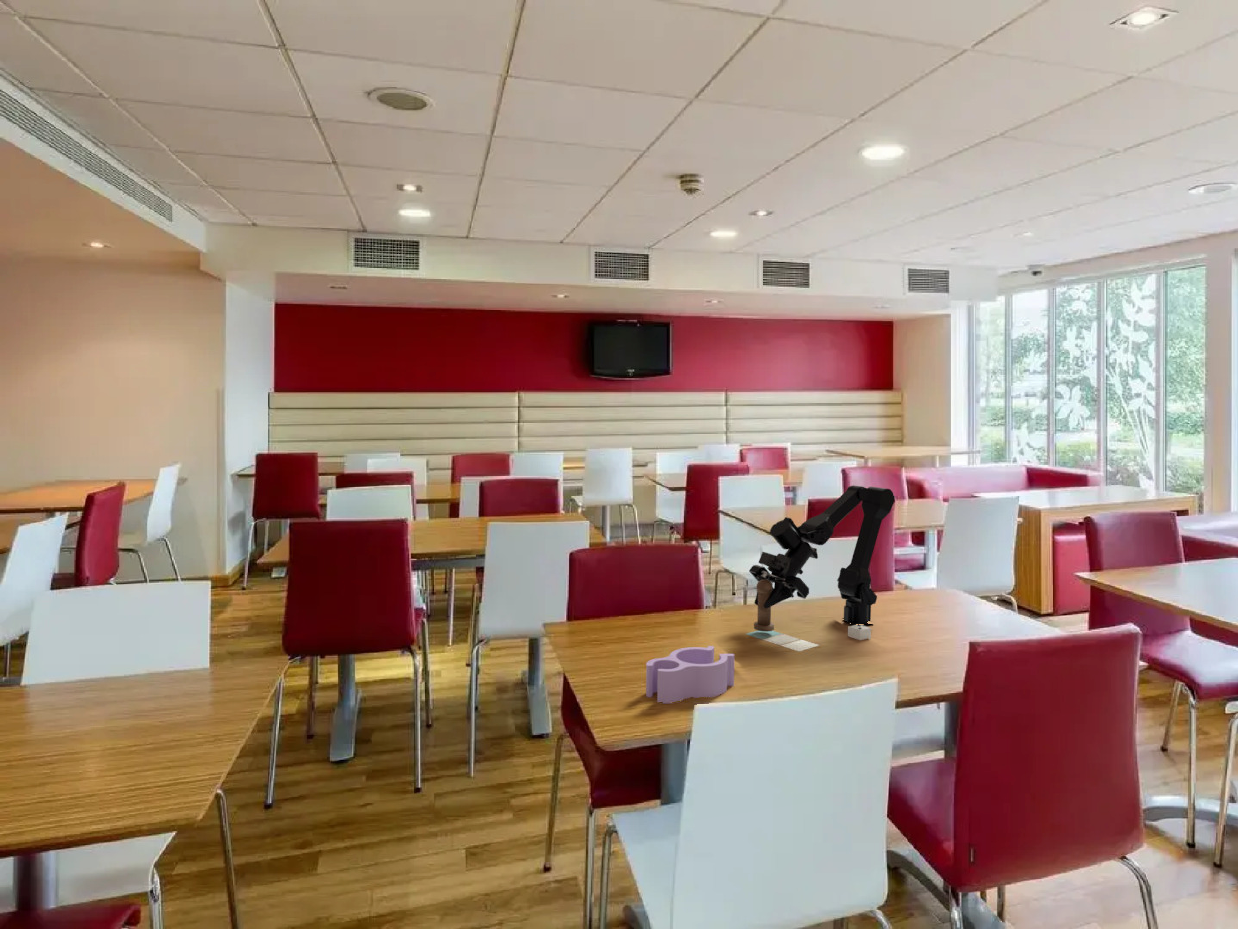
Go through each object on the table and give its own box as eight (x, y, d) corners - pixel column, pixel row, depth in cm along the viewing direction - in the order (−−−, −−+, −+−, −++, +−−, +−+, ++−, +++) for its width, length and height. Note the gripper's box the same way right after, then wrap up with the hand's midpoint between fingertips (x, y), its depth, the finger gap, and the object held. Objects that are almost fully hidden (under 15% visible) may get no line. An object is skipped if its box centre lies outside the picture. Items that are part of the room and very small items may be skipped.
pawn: (773, 626, 198) (774, 577, 197) (774, 631, 193) (775, 582, 192) (753, 625, 199) (754, 577, 198) (754, 631, 193) (755, 581, 192)
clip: (671, 710, 150) (671, 676, 149) (634, 691, 160) (634, 659, 159) (742, 689, 161) (743, 657, 161) (704, 672, 171) (704, 643, 171)
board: (741, 638, 196) (741, 633, 196) (764, 632, 201) (764, 627, 201) (800, 658, 181) (800, 652, 181) (823, 650, 186) (823, 645, 186)
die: (858, 639, 196) (858, 623, 196) (870, 643, 193) (870, 626, 193) (847, 641, 194) (848, 625, 194) (860, 645, 191) (860, 629, 191)
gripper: (755, 535, 204) (721, 579, 200) (801, 547, 188) (765, 595, 183) (777, 561, 208) (744, 604, 204) (824, 574, 192) (790, 622, 188)
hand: (760, 605), depth 195 cm, fingers closed on pawn, 3 cm apart
